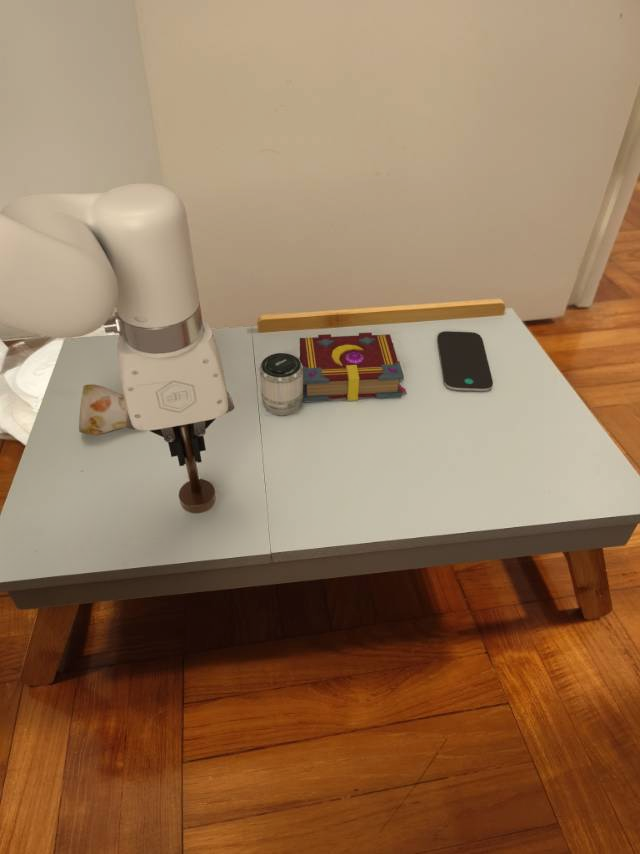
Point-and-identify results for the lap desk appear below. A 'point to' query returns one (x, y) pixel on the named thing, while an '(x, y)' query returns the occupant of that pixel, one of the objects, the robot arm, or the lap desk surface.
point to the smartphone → (464, 361)
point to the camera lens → (281, 383)
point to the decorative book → (350, 367)
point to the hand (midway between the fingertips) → (189, 455)
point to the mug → (101, 410)
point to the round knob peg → (194, 480)
